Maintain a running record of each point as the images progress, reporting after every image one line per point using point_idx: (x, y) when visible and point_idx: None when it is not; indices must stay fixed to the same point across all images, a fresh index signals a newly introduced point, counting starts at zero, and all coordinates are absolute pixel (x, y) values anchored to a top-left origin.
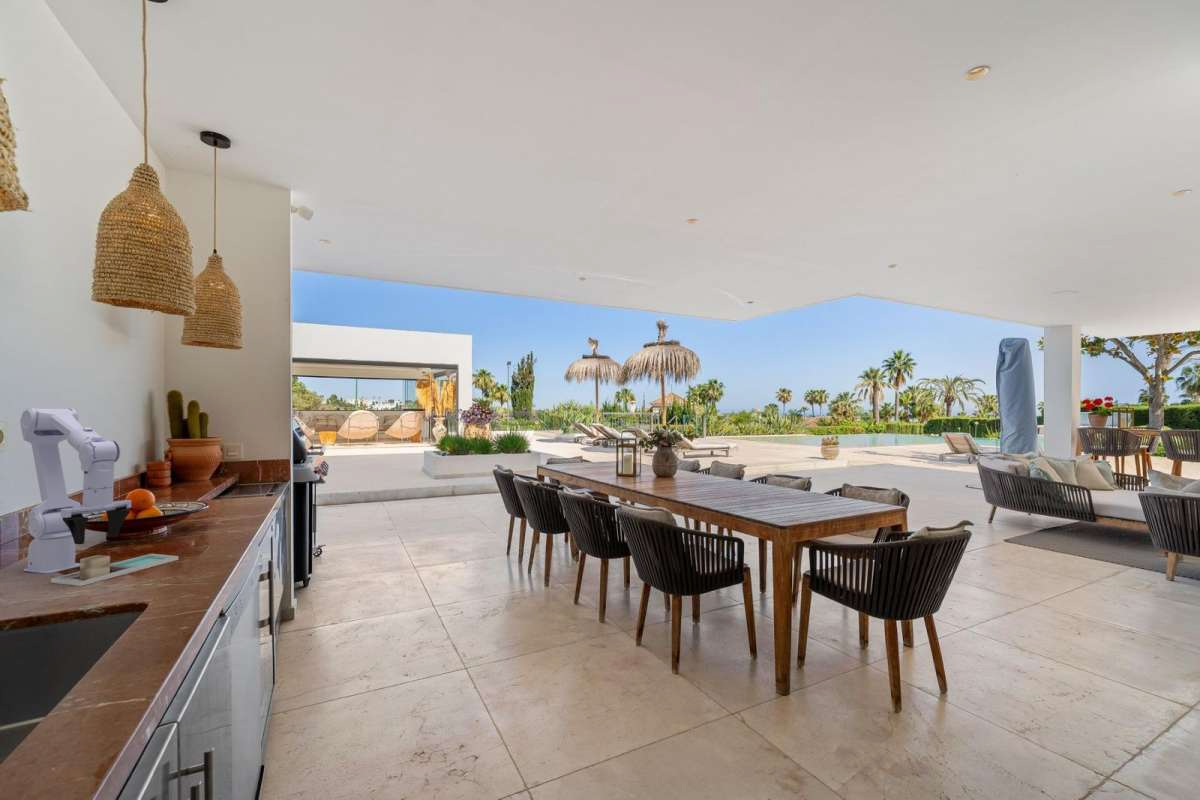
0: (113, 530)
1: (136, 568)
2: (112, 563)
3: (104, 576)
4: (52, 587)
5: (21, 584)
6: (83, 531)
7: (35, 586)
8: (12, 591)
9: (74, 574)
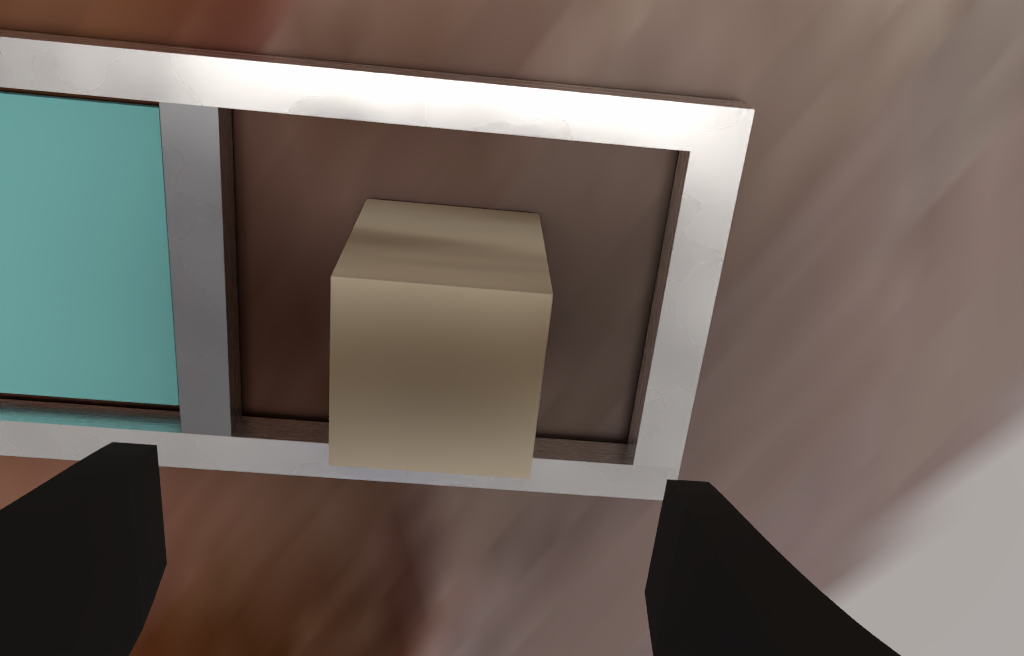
0: (103, 571)
1: (155, 48)
2: None
3: (514, 86)
4: (766, 348)
5: None
6: (777, 613)
7: (747, 504)
8: (876, 534)
9: None
